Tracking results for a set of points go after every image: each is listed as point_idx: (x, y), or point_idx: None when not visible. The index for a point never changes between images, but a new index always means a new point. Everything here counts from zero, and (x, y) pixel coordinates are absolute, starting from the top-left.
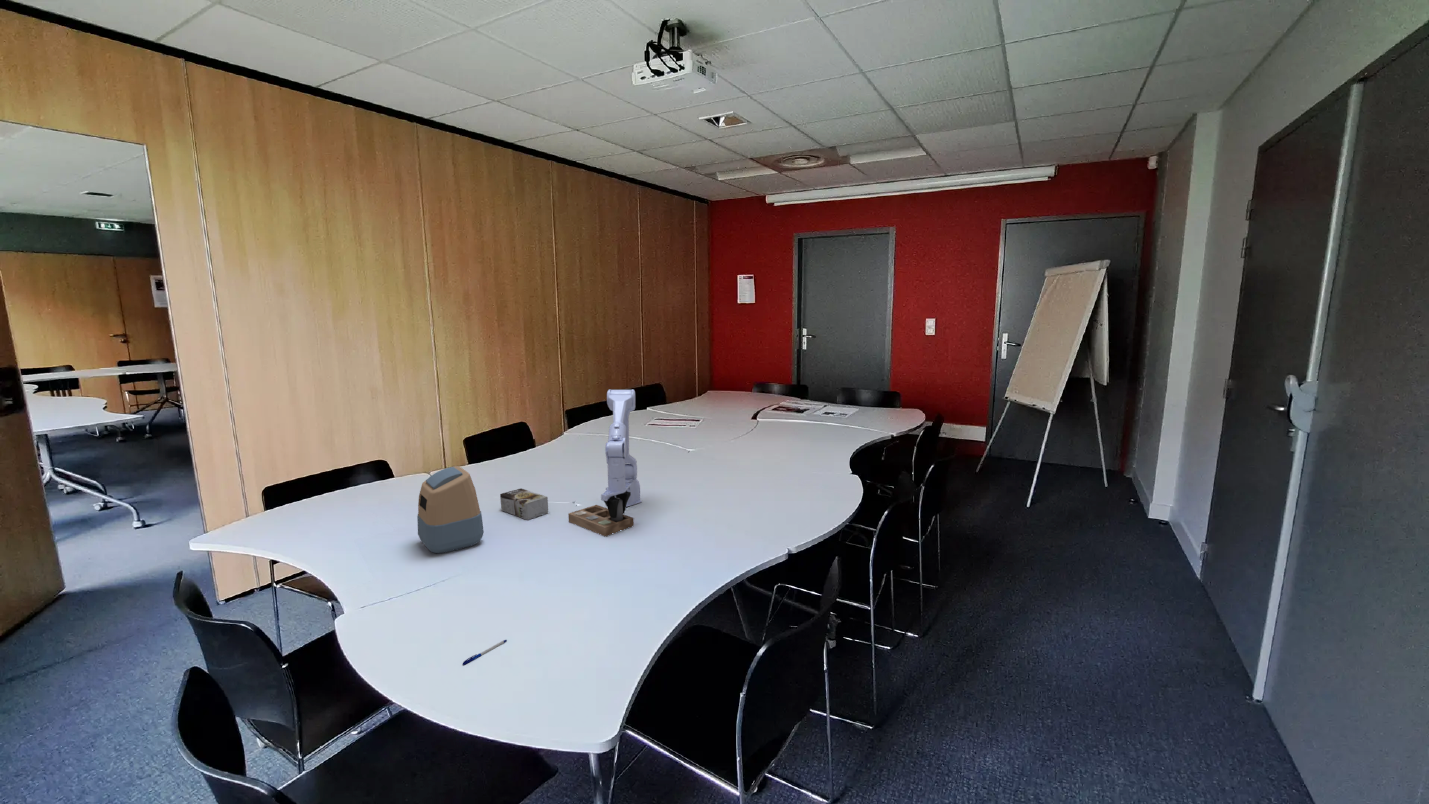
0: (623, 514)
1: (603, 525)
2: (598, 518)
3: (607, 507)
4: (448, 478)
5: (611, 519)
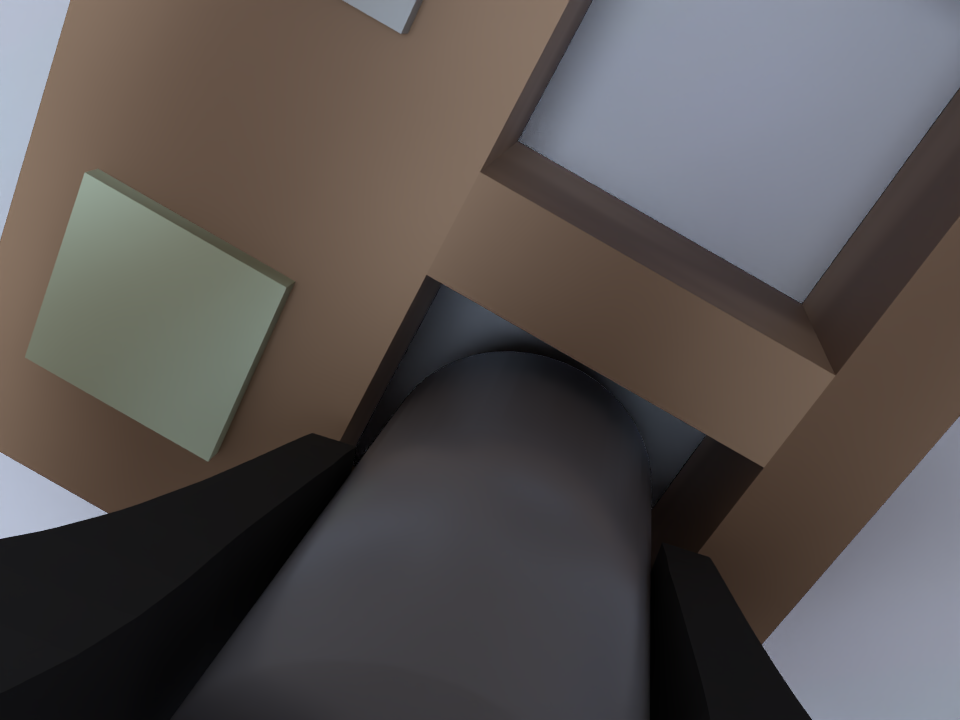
0: (807, 576)
1: (32, 345)
2: (385, 39)
3: (93, 528)
4: None
5: (412, 398)
